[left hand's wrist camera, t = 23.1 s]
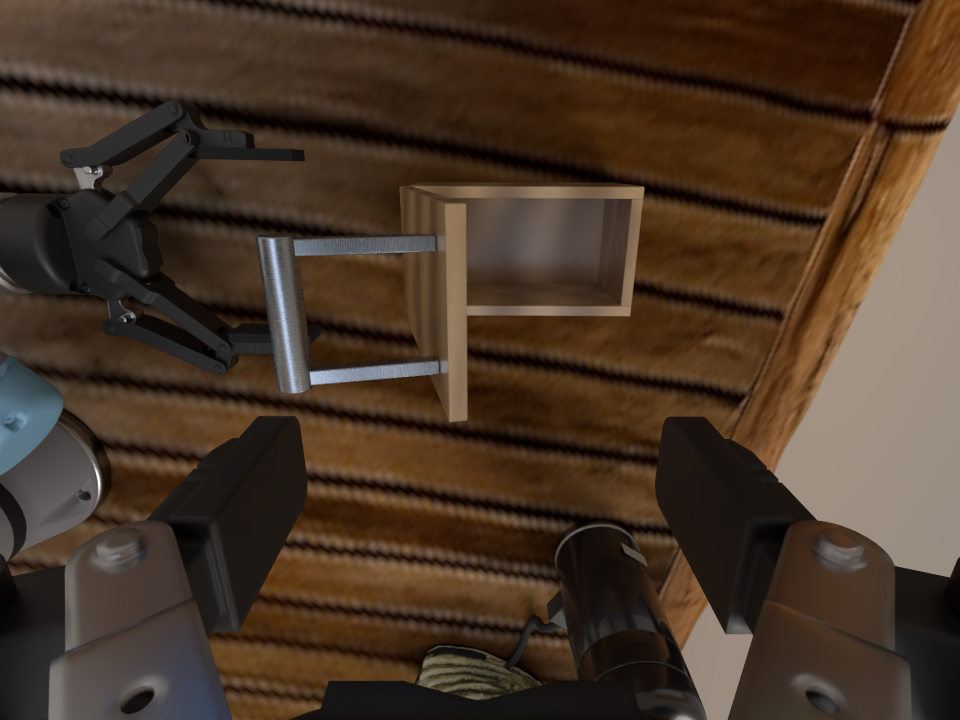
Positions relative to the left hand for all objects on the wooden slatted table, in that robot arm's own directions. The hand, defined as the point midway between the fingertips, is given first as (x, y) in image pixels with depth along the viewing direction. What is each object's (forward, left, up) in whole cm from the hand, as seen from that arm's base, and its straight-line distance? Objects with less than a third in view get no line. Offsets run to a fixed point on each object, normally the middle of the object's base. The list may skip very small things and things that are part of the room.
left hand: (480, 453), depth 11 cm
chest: (+1, -3, -36) cm, 37 cm away
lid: (-1, +3, -19) cm, 19 cm away
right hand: (-4, +13, -30) cm, 33 cm away
